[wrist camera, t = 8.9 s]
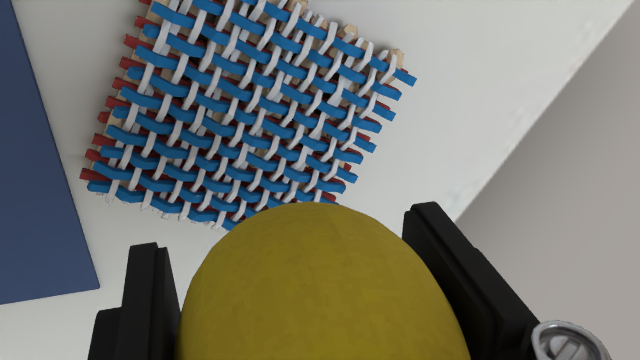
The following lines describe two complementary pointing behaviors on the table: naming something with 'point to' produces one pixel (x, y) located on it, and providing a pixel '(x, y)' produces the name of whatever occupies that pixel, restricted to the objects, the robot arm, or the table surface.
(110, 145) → the woven mat
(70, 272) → the cloth
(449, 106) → the table surface
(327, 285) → the lemon
